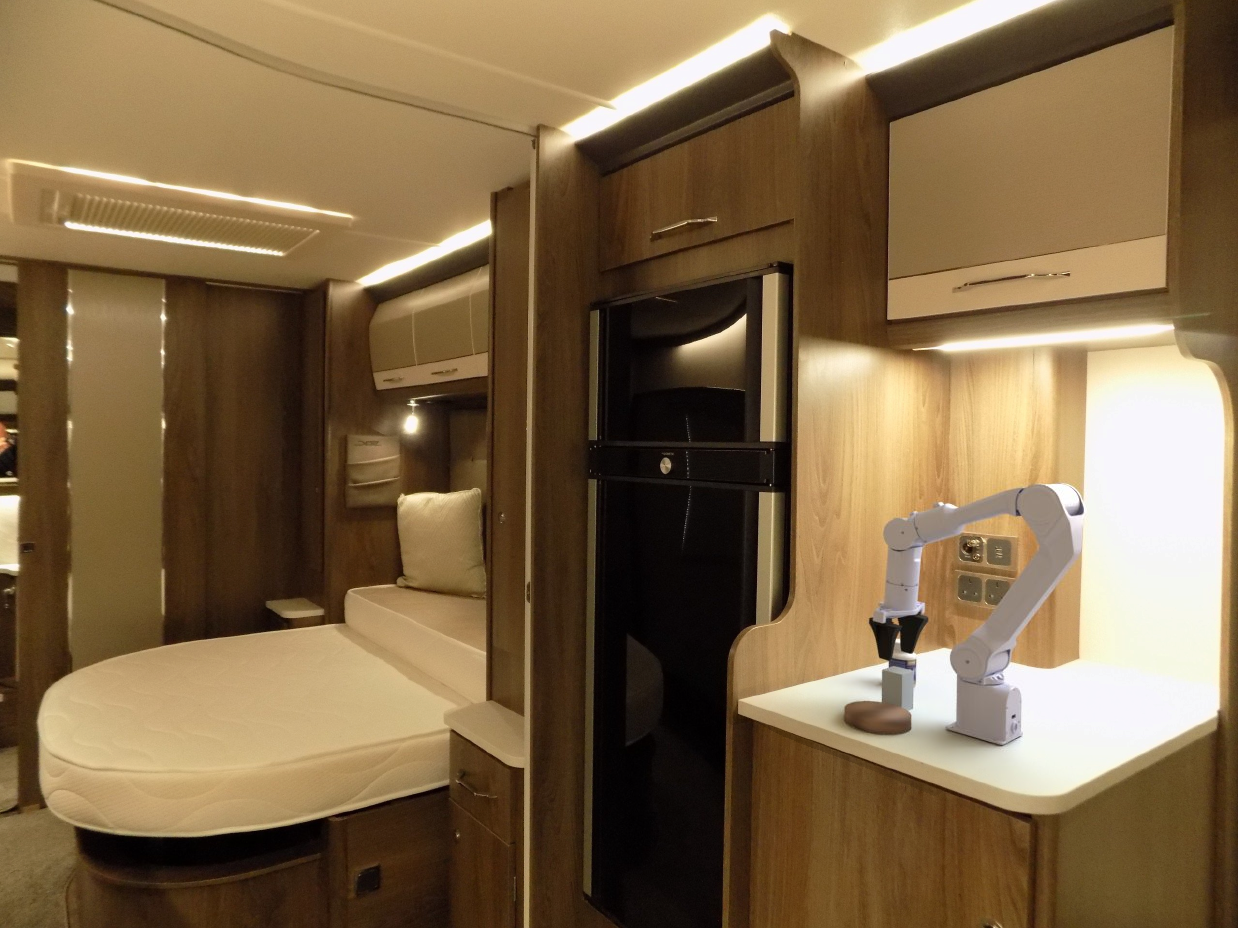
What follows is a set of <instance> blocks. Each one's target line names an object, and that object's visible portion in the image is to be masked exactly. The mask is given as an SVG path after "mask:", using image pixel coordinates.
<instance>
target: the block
mask: <svg viewBox="0 0 1238 928" xmlns="http://www.w3.org/2000/svg"><path fill="white" fill-rule="evenodd" d="M914 689H915V687H914V671H912V670H908V669H904V668H900V667H896V666H892V667H889V666H888V667H887V668H884V669H882V670H881V702H883V703H889V704H893V705H896V706H899V707H902V708H904V709H906V710H908V711H909V712H910V711H911V710H913V709H914Z"/></svg>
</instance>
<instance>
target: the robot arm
mask: <svg viewBox="0 0 1238 928" xmlns="http://www.w3.org/2000/svg"><path fill="white" fill-rule="evenodd" d="M1087 511H1088V510H1087V508H1086V505H1085V503H1084V500H1083V497H1082V495H1081V494H1080V492H1079V491H1078V490H1077V489H1076V488H1075V487H1074V486H1072V485H1071V484H1068V483H1063V482H1057V483H1055V482H1054V483H1051V484H1043V483H1034V484H1031V485H1028V486H1025V487H1024V486H1022V487H1015V488H1011V489H1006V490H1003V491H1000V492H998V493H995V494H991V495H989V496H987V497H982V498H981V499H979V500H974V501H973V502H970V503H967V504H964V505H962V506H959V507H958V506H956V505H954V504H951V503H944V502H942V501H941V502H935V503H933V504H932V508H929V509H926V510H923V511H920V512H918V511H912V512H911V511H910V512H909V514H908V515H909V516H908V517H894V518H893V519H891V520H890V521H889V520H888V522H887V523H886V524H885V526H884V528H883V532H882V534H883V536H882V537H883V539H884V542H885V544H886V545H887V546H888V548H887V558H886V561H887V562H886V572H885V586H884V596H883V597H884V598H883V601H879V602H877V603H878V604H877V605H878V608H877V609H874V610H873V613H872V615H873V616H871V617H869V618H868V624H869V626H870V629H871V630H872V633H873V636H874V639H875V643H876V648H877V649H876V650H877V655H878V658H879V659H881V660H885V661H888V662H889V661H890V660H891V659H892V656H893V651H894V646H895V641H896V639H898V635H899V639H900V648H901V651H902V652H906V653H909V654H913V652H914V651H915V649H916V646H917V644H918V641H919V637H920V635H921V633H922V632H923V629H924V628H925V627H926V626H927V624H928V623H929V618H930V617H929V616H927V615H923V614H925V609H926V603H925V602H921V601H918V600H919V599H918V597H919V587H920V574H921V573H920V571H921V563H922V561H921V560H922V559H921V558H922V554H923V548H924V547H925V546H926V545H929V544H932V543H935V542H939V541H942V540H946V539H949V538H953V537H956V536H959V535H961V534H962V532H963V531H964V529H965V527H966V525H969V524H973V523H977V522H981V521H985V520H989V519H993V518H996V517H1000V516H1003V515H1009V516H1012V517H1022V519H1023V520H1024V521H1025V523H1026V524H1027V526H1028V527H1029V528H1030V530H1031V531H1032V532H1033V534H1034V536H1035V539H1036V542H1037V545H1038V550H1037V551H1036V552H1035V554H1034V555H1033V556H1032V558H1031V560H1030V561H1029V562H1028V564H1027V565H1026V566H1025V568H1024V569H1023V570H1022V571H1021V573H1020V575H1019V576H1018V577H1017V579H1015V581H1014V582H1013V584H1012V585H1011V586H1010V588H1009V589H1008V590H1007V592H1006V593H1005V595H1004V596H1003V597H1002V599H1001V600H1000V601H999V602H998V604H997V605H996V606H995V608H994V609H993V611H992V612H991V613H990V615H989V616H988V618H987V619H986V620H985V622H984V623H982V624H981V625H980V626H979V627H978V628H977V629H975V630H974V631H973V632H972V633H971V634H970V635H969V636H968V638H967V639H966V640H963V641H962V642H959V643H956V644H955V646H953V647H952V649H951V651H950V654H949V661H950V665H951V668H952V671H954V673H955V675H956V709H955V710H956V711H955V713H956V714H955V715H956V716H955V717H956V718H955V721H953V722H952V723H950V724H947V725H946V726H945V729H946V730H948V731H952V732H955V733H959V734H962V735H966V736H969V737H973V738H976V739H979V740H982V741H986V742H989V743H992V744H997V745H1000V746H1004V745H1005V744H1008V743H1010V742H1012V741H1013V740H1015V739H1017V738H1018V737H1020V736H1022V735H1023V734H1024V732H1023V731H1022V694H1021V691H1020V689H1019V688H1018V687H1017V686H1014V685H1011V684H1009V683H1007V682H1006V681H1005V675H1004V670H1006V669H1007V668H1008V667H1009V665H1010V664H1011V659H1012V652H1013V650H1014V649H1015V648H1016V647H1017V645H1018V643H1017V637H1018V636H1020V634H1021V633H1022V631H1023V630H1024V629H1025V627H1026V626H1027V625H1028V623H1030V620H1031V619H1032V618H1033V617H1034V616H1035V614H1036V613H1037V612H1038V611H1039V609H1040V608H1041V606H1042V605H1043V604H1044V603H1045V601H1046V600H1047V599H1048V598H1049V597H1050V595H1051V593H1053V591H1054V590H1055V588H1056V587H1057V586H1058V585H1059V583H1060V581H1062V579H1063V578H1064V577H1065V576H1066V574H1067V573H1068V571H1070V569H1071V567H1072V566H1073V565H1074V564H1075V563H1076V561H1077V560H1078V559H1079V557H1080V556H1081V553H1082V549H1083V545H1082V544H1083V530H1084V520H1085V517H1086V515H1087ZM895 619H897V621H898V622H897V623H898V624H896V623H894V622H895V621H893V620H895ZM914 653H915V652H914Z"/></svg>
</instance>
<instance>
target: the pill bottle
mask: <svg viewBox="0 0 1238 928" xmlns="http://www.w3.org/2000/svg"><path fill="white" fill-rule="evenodd" d="M892 666H896V667H900V668H904V669H908V670H912V671H914V688H915V687H916V685H917V654H916V653H915V652H913V654H909V653H906V652H902V651H901V648H900V638H896V641H895V646H894V651H893V656H892V659H891V660H890V661H888V668H889V667H892Z"/></svg>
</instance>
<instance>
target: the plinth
mask: <svg viewBox="0 0 1238 928" xmlns="http://www.w3.org/2000/svg"><path fill="white" fill-rule="evenodd" d="M843 710H844V715H843V716H844V722H845V723H846V724H847V726H849V727H851V728H853V729H856V730H858V731H862V732H865V733H871V734H876V735H891V736H892V735H901V734H905V733H907V732H908V733H909V732H910V730H912V715H913V714H912V713H911V712H910V710H909V711H908V710H906V709H904V708H902V707H899V706H896V705H893V704H889V703H883V702H882V701H874V700H867V701H866V700H860V701H859V700H858V701H853V702H850V703H847V704H846V705H845V706H844V709H843Z"/></svg>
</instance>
